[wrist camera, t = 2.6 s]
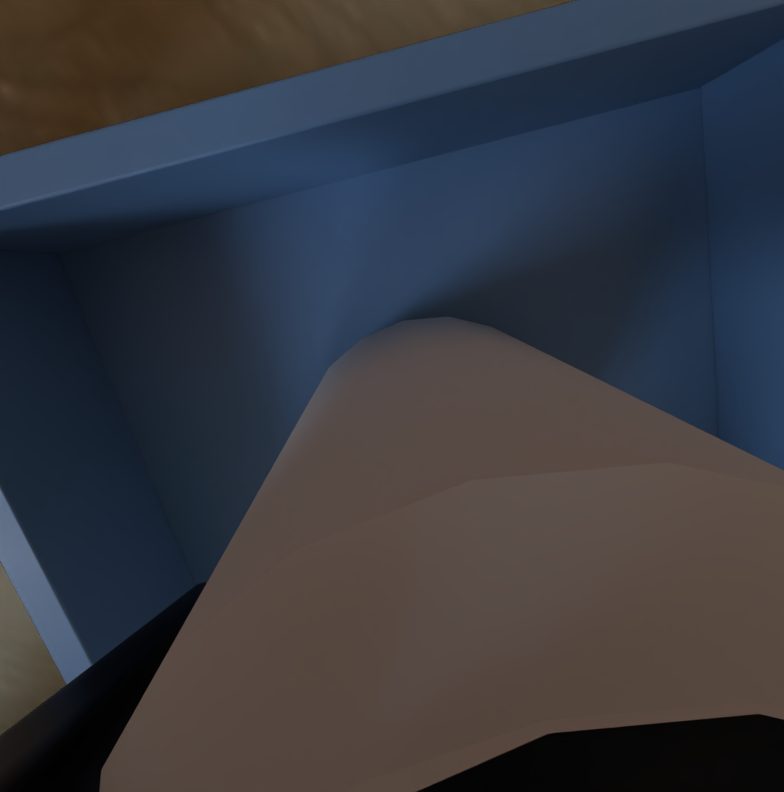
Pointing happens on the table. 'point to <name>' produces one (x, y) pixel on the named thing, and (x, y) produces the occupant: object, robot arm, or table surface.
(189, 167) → the tub
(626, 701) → the can
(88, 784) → the robot arm
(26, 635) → the table surface
